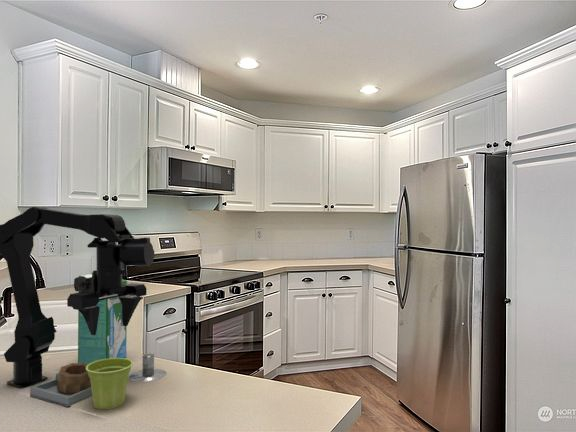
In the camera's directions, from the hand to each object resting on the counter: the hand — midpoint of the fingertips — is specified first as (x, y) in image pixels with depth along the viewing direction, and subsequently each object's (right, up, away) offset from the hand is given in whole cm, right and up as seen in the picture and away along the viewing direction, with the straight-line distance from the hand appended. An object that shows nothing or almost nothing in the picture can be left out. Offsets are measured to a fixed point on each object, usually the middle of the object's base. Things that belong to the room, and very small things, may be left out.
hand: (109, 330), depth 101 cm
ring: (-8, -12, -3) cm, 15 cm away
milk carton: (-9, -14, +16) cm, 23 cm away
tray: (-7, -13, -4) cm, 15 cm away
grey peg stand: (+7, -13, +6) cm, 16 cm away
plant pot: (+4, -13, -11) cm, 18 cm away
